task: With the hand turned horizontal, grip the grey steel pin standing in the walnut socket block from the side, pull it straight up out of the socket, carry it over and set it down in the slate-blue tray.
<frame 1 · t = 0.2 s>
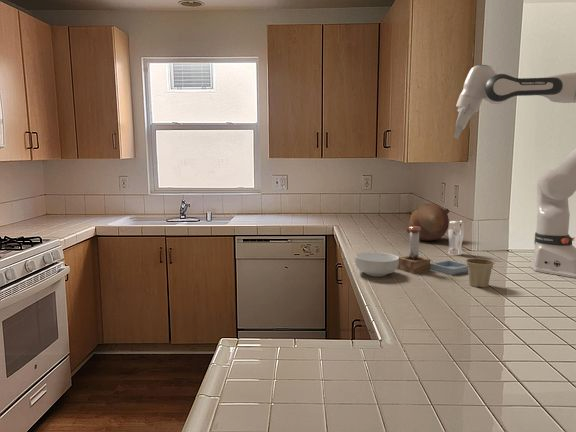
hand: (455, 138, 193), 52 cm above the worktop, tool tilted 20°, fingers open, 8 cm apart
tray: (450, 270, 186), on the worktop
beer glass: (454, 254, 216), on the worktop
pin: (414, 248, 187), in the socket block
flower pot: (478, 285, 166), on the worktop
socket block: (413, 269, 188), on the worktop
jug: (425, 239, 254), on the worktop
cereal bowl: (376, 274, 182), on the worktop
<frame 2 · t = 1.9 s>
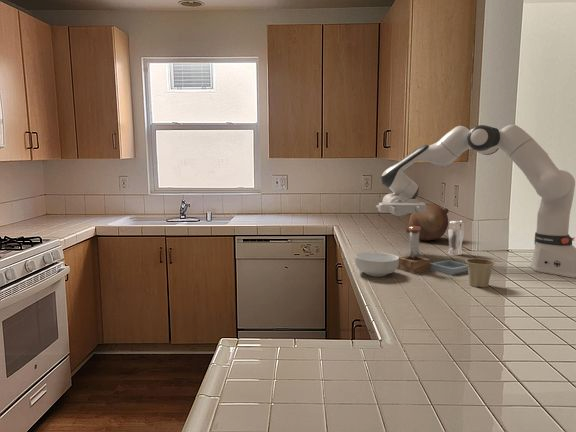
hand: (406, 209, 197), 22 cm above the worktop, tool horizontal, fingers open, 8 cm apart
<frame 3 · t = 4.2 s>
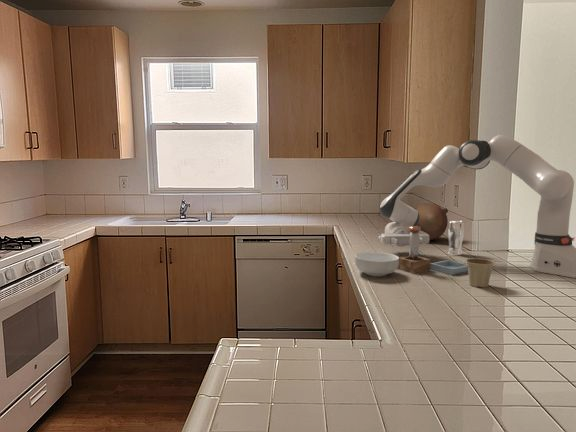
hand: (409, 241, 194), 10 cm above the worktop, tool horizontal, fingers open, 8 cm apart
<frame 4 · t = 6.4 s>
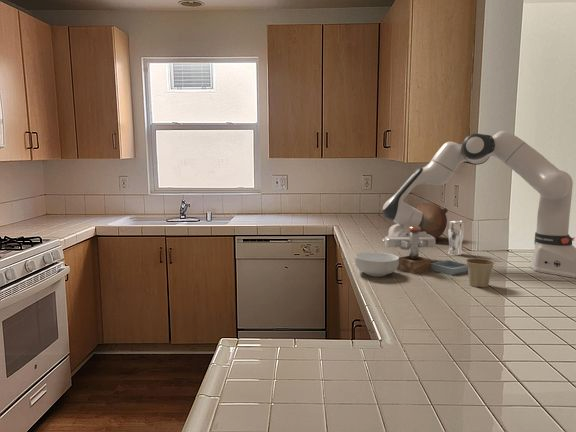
hand: (414, 245, 186), 10 cm above the worktop, tool horizontal, fingers closed on pin, 4 cm apart
pin: (414, 248, 187), in the socket block, touching gripper
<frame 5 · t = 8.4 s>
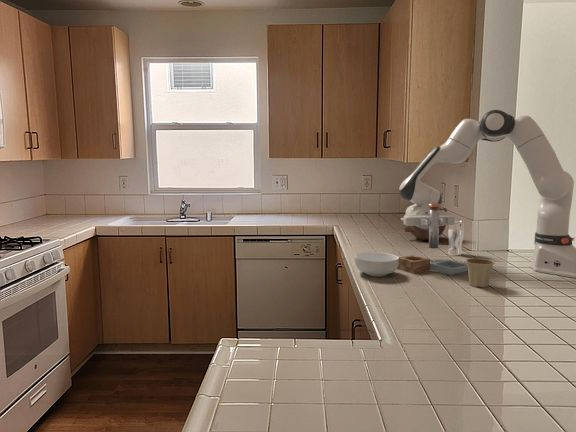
hand: (435, 222, 183), 19 cm above the worktop, tool horizontal, fingers closed on pin, 4 cm apart
pin: (434, 225, 185), point 18 cm above the worktop, touching gripper
when the fingers open (12 cm above the worktop, at t = 10.7 s): pin drops 1 cm, resting on tray.
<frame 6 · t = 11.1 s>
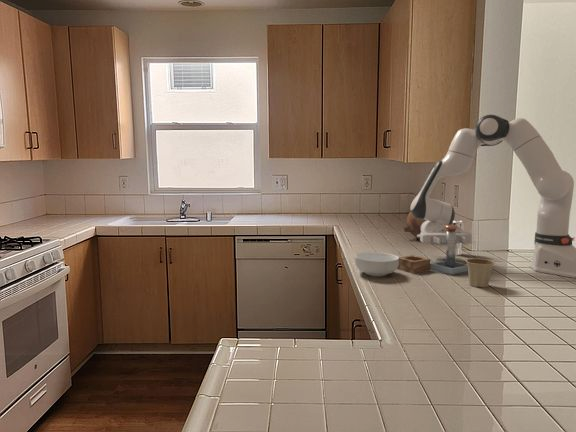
hand: (452, 241, 184), 12 cm above the worktop, tool horizontal, fingers open, 8 cm apart
pin: (450, 247, 185), in the tray, point 9 cm above the worktop
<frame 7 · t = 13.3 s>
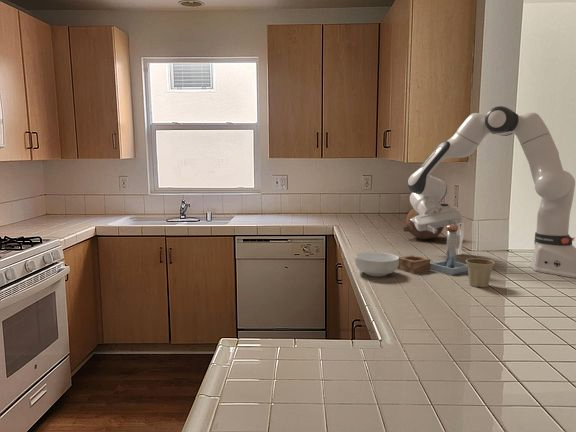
hand: (446, 229, 197), 14 cm above the worktop, tool tilted 70°, fingers open, 8 cm apart
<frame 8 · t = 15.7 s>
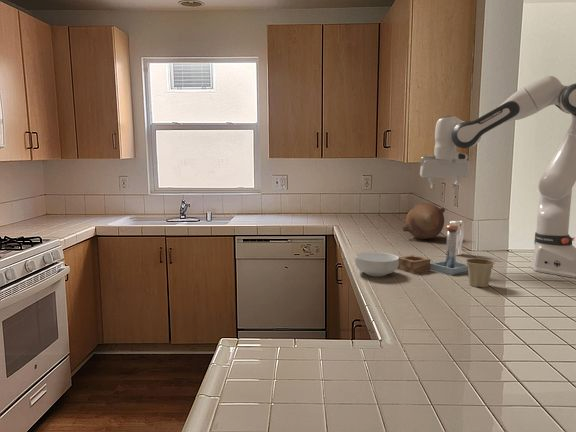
hand: (443, 188, 201), 31 cm above the worktop, tool pointing down, fingers open, 8 cm apart
at the end: pin inside the target area on the tray (0.0 cm from its centre), point 9.2 cm above the tray's base; pin moved 14.2 cm from its start; the gripper is holding nothing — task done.
